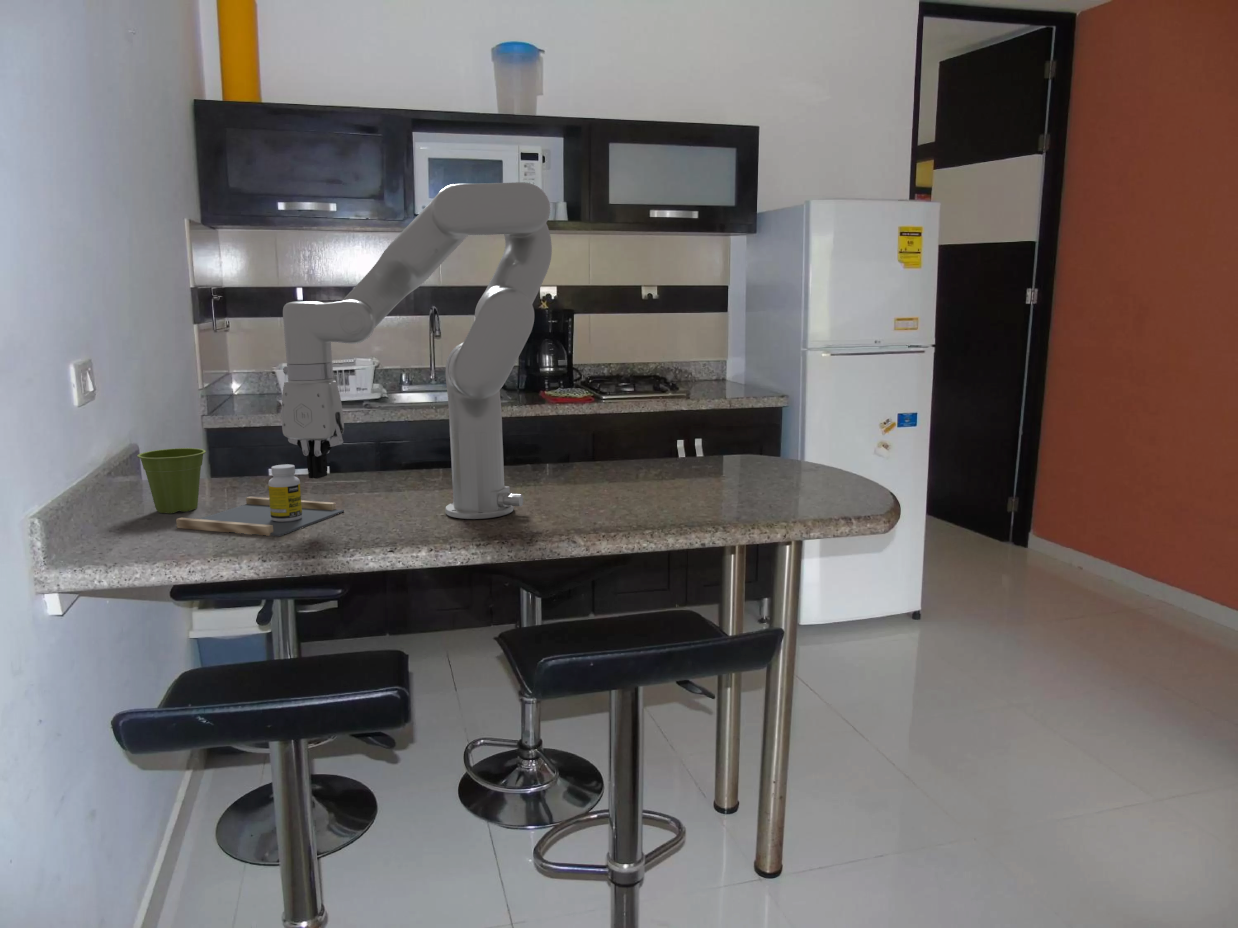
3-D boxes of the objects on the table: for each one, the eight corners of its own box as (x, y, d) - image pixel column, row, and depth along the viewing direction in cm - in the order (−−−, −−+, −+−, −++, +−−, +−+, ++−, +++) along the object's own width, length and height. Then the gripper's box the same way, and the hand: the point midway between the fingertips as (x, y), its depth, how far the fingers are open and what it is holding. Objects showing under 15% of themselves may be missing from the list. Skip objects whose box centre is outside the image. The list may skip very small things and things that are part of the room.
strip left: (273, 534, 159) (272, 525, 158) (268, 535, 158) (268, 526, 157) (182, 526, 165) (181, 517, 165) (177, 527, 164) (176, 519, 164)
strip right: (336, 510, 175) (335, 502, 175) (332, 512, 174) (331, 504, 174) (251, 504, 181) (250, 496, 181) (246, 505, 180) (246, 497, 180)
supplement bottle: (292, 523, 164) (288, 469, 163) (265, 522, 165) (260, 468, 164) (308, 516, 170) (304, 463, 168) (281, 515, 171) (277, 463, 169)
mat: (344, 512, 174) (343, 509, 174) (280, 536, 157) (279, 533, 157) (249, 504, 181) (249, 503, 181) (178, 527, 164) (178, 525, 164)
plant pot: (202, 515, 173) (195, 456, 171) (134, 518, 172) (127, 459, 169) (218, 501, 185) (212, 446, 183) (155, 504, 183) (149, 448, 181)
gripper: (260, 374, 159) (269, 478, 162) (333, 376, 154) (340, 483, 157) (289, 371, 166) (296, 470, 169) (359, 372, 161) (366, 475, 164)
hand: (318, 476), depth 163 cm, fingers closed
